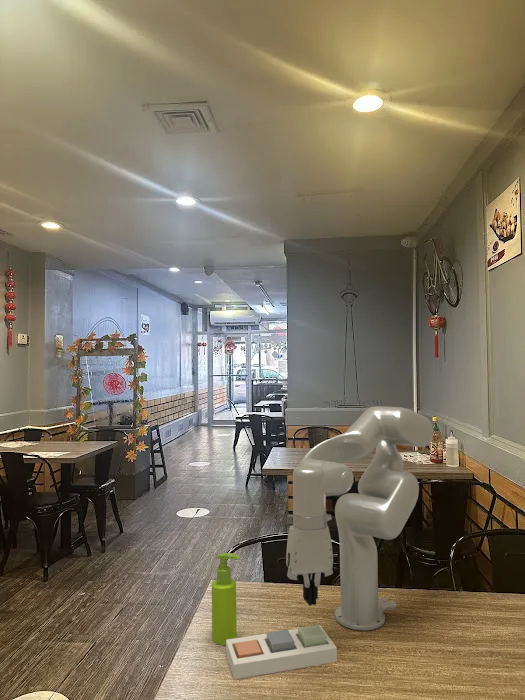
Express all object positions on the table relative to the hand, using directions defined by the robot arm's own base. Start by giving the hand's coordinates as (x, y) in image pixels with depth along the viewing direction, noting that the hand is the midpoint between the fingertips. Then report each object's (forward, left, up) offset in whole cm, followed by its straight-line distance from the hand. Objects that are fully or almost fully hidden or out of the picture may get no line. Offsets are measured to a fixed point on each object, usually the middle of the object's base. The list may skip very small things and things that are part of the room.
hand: (310, 602), depth 113 cm
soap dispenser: (+18, -11, -11) cm, 24 cm away
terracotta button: (+15, 0, -10) cm, 18 cm away
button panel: (+7, 0, -11) cm, 13 cm away
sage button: (0, 0, -9) cm, 9 cm away
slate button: (+7, 0, -9) cm, 11 cm away
